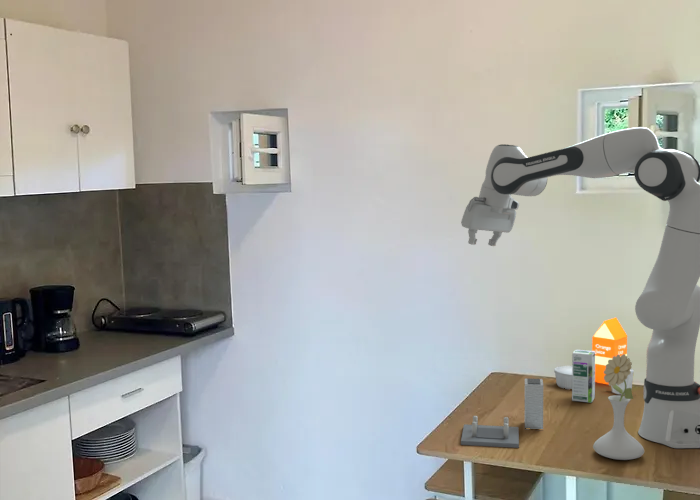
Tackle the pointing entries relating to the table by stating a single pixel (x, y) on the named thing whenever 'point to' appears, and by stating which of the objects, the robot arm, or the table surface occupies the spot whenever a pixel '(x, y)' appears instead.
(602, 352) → the orange juice
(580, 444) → the table surface
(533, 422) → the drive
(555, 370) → the ramekin
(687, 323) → the robot arm
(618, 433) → the flower in vase
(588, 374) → the syrup box
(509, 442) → the stand
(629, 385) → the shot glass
